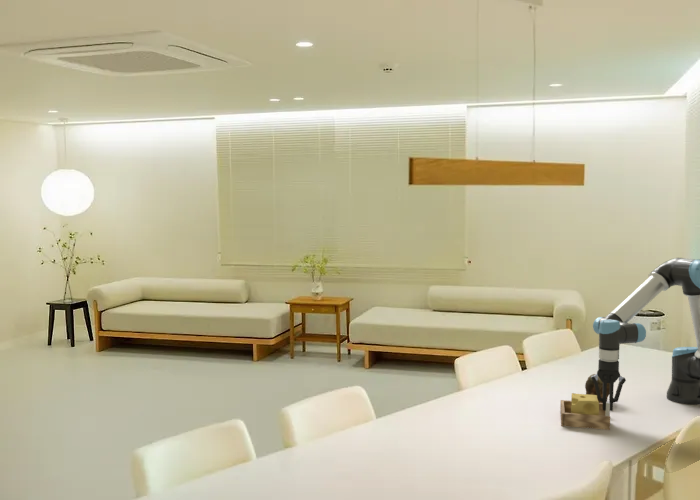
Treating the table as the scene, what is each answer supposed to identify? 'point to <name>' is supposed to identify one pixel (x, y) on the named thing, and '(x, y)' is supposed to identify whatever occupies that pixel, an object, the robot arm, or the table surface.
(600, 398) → the robot arm
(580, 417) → the corral
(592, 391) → the shell
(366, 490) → the table surface
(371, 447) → the table surface
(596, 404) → the cheese
